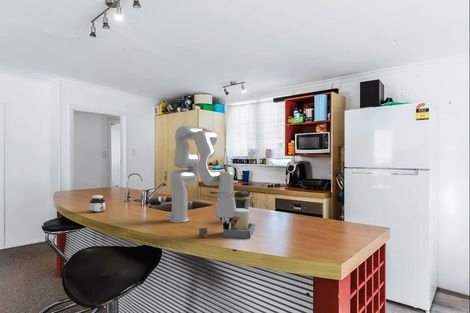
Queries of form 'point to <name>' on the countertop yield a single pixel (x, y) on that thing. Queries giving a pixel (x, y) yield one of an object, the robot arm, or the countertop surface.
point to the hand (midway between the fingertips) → (226, 230)
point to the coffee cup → (240, 219)
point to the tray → (240, 232)
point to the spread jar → (97, 204)
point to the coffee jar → (241, 199)
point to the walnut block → (202, 232)
